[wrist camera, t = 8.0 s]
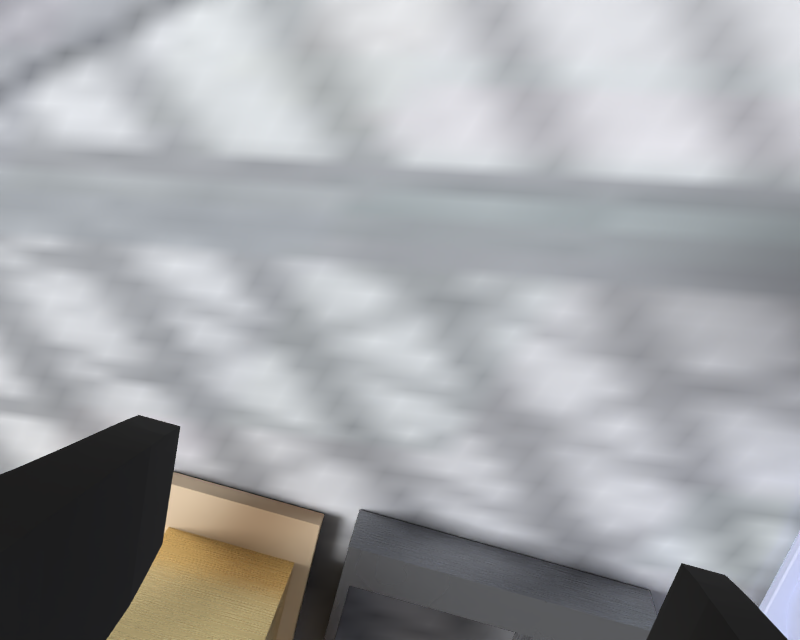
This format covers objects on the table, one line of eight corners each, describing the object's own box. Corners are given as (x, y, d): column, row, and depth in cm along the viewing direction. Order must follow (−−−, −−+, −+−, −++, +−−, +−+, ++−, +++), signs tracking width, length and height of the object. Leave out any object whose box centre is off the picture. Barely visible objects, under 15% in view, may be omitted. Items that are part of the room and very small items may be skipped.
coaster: (324, 513, 23) (320, 525, 22) (282, 682, 25) (277, 696, 25) (167, 470, 23) (159, 480, 22) (140, 642, 26) (132, 655, 25)
